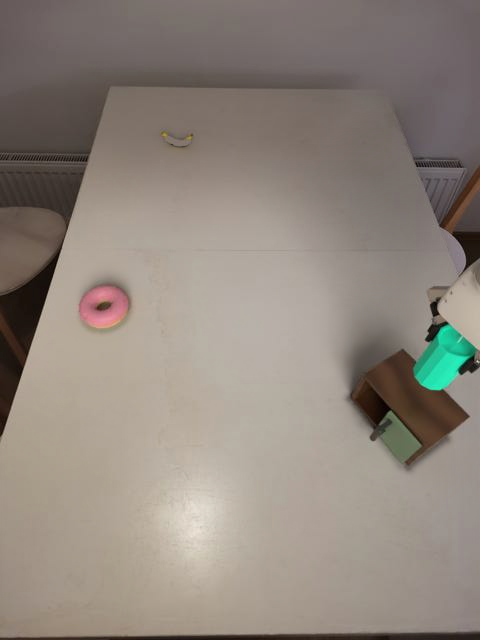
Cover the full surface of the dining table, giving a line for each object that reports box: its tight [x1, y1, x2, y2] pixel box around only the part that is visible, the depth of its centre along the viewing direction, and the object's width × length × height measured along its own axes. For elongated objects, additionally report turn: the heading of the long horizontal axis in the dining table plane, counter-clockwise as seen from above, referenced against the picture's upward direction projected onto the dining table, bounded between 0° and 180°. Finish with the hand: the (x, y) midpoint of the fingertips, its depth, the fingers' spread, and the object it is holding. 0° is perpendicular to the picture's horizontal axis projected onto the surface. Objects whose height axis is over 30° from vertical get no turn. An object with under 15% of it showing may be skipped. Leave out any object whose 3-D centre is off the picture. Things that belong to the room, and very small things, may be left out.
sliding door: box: [368, 410, 422, 464], centre depth 76 cm, size 4×7×9 cm, turn 33°
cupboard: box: [350, 348, 471, 467], centre depth 80 cm, size 10×16×10 cm, turn 33°
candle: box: [413, 324, 476, 390], centre depth 66 cm, size 6×6×12 cm
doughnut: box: [77, 284, 130, 329], centre depth 96 cm, size 11×11×4 cm
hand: (449, 352), depth 66 cm, fingers closed on candle, 6 cm apart
